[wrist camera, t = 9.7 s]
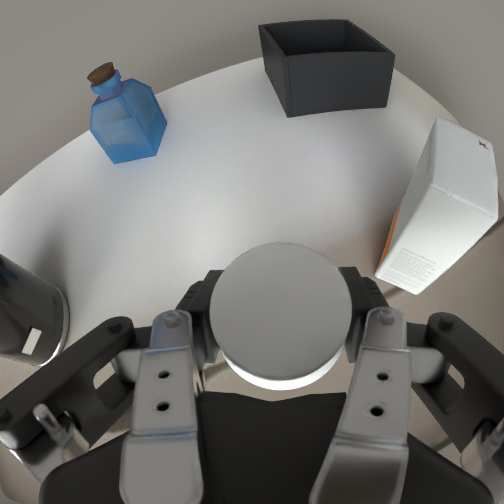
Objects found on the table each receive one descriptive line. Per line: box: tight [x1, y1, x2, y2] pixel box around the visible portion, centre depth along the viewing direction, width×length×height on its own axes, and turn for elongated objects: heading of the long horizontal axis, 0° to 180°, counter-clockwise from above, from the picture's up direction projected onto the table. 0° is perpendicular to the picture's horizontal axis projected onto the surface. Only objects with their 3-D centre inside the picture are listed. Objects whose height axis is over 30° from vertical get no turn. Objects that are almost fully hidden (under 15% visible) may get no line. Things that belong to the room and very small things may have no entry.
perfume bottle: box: [87, 62, 167, 164], centre depth 27 cm, size 6×6×12 cm
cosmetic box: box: [375, 116, 498, 295], centre depth 16 cm, size 6×4×12 cm
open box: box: [258, 19, 395, 118], centre depth 29 cm, size 13×13×8 cm
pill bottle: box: [210, 243, 352, 390], centre depth 11 cm, size 5×5×8 cm
